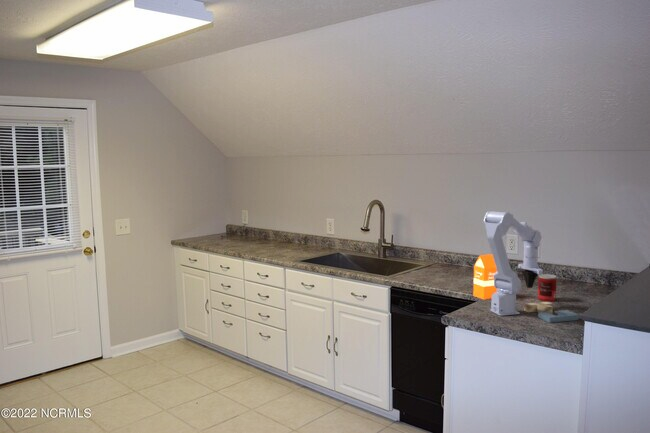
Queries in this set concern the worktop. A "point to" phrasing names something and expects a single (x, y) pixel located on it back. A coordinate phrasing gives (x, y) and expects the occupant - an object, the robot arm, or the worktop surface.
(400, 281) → the worktop surface
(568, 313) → the dock
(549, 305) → the t block
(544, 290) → the canned food
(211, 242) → the worktop surface
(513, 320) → the worktop surface
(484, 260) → the orange juice
